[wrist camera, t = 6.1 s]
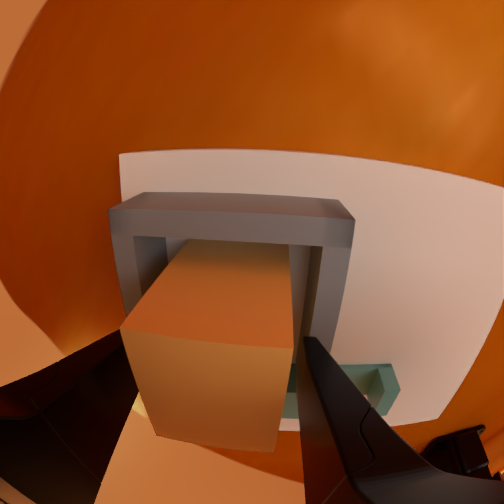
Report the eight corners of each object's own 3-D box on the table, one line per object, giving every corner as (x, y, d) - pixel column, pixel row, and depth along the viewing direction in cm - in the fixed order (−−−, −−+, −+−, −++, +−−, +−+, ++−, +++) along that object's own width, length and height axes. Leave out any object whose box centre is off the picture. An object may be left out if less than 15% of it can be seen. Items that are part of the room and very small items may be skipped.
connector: (268, 425, 15) (260, 507, 10) (207, 419, 15) (187, 497, 10) (288, 244, 10) (293, 349, 5) (190, 238, 11) (119, 327, 5)
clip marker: (379, 389, 13) (386, 415, 11) (286, 390, 13) (285, 418, 12) (391, 363, 12) (400, 389, 10) (290, 363, 12) (290, 392, 11)
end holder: (313, 359, 12) (316, 401, 10) (163, 345, 13) (144, 381, 11) (338, 199, 9) (355, 220, 7) (143, 192, 10) (107, 209, 8)
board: (433, 408, 15) (437, 418, 14) (170, 403, 16) (166, 415, 15) (519, 191, 9) (531, 196, 8) (131, 152, 10) (118, 153, 10)
